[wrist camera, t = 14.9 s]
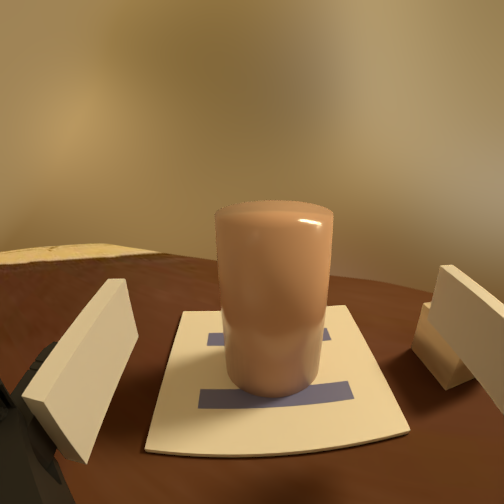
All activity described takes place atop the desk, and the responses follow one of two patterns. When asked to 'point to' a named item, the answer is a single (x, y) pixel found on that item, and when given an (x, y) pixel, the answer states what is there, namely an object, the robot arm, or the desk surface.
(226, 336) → the terracotta canister
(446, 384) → the ash block
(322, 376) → the letter card
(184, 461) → the desk surface
